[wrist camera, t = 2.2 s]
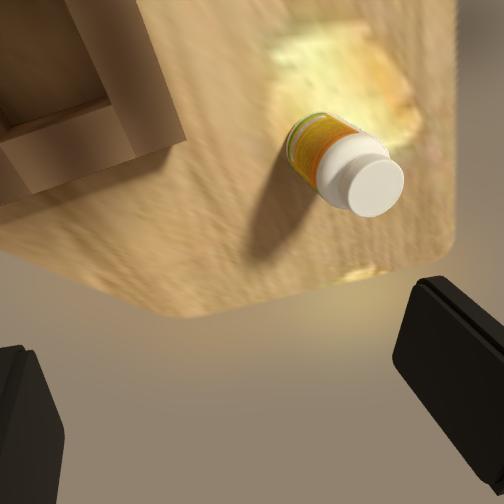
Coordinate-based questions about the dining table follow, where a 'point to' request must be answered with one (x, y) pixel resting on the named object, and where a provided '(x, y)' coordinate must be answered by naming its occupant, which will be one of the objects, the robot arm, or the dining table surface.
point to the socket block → (95, 109)
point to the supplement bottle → (344, 164)
